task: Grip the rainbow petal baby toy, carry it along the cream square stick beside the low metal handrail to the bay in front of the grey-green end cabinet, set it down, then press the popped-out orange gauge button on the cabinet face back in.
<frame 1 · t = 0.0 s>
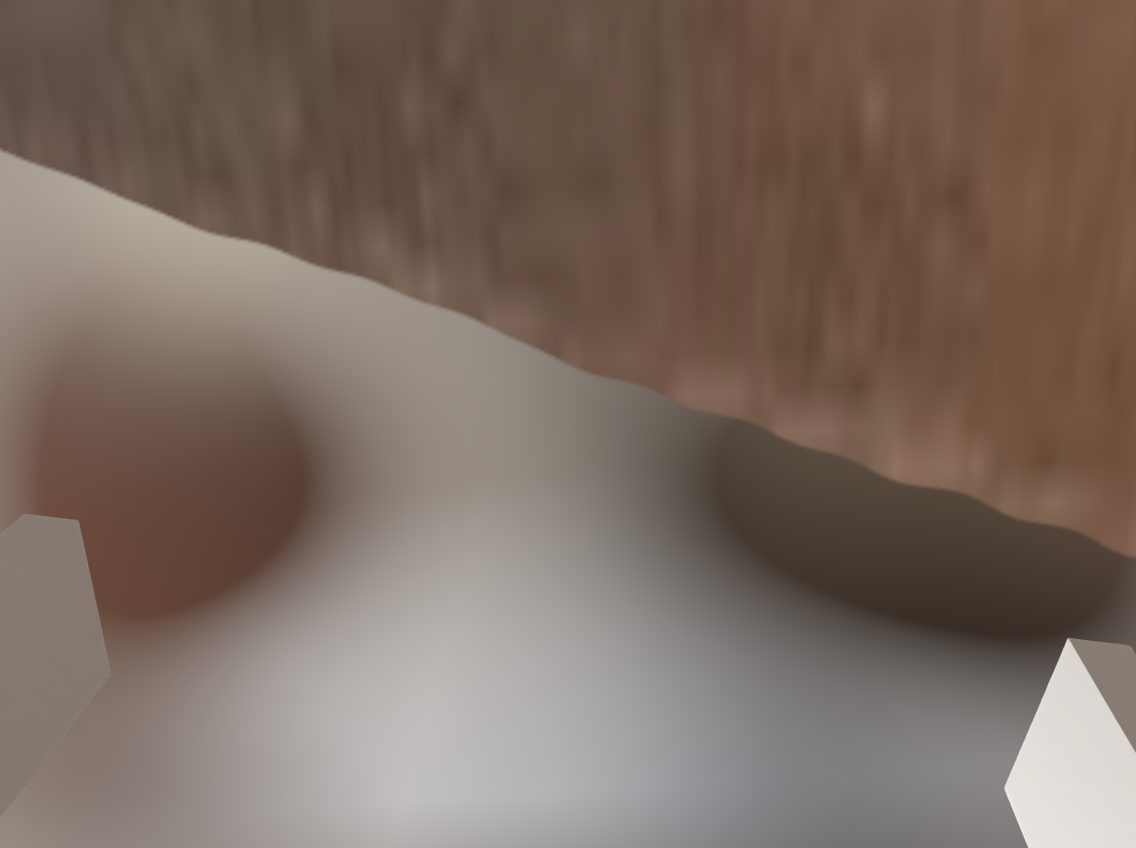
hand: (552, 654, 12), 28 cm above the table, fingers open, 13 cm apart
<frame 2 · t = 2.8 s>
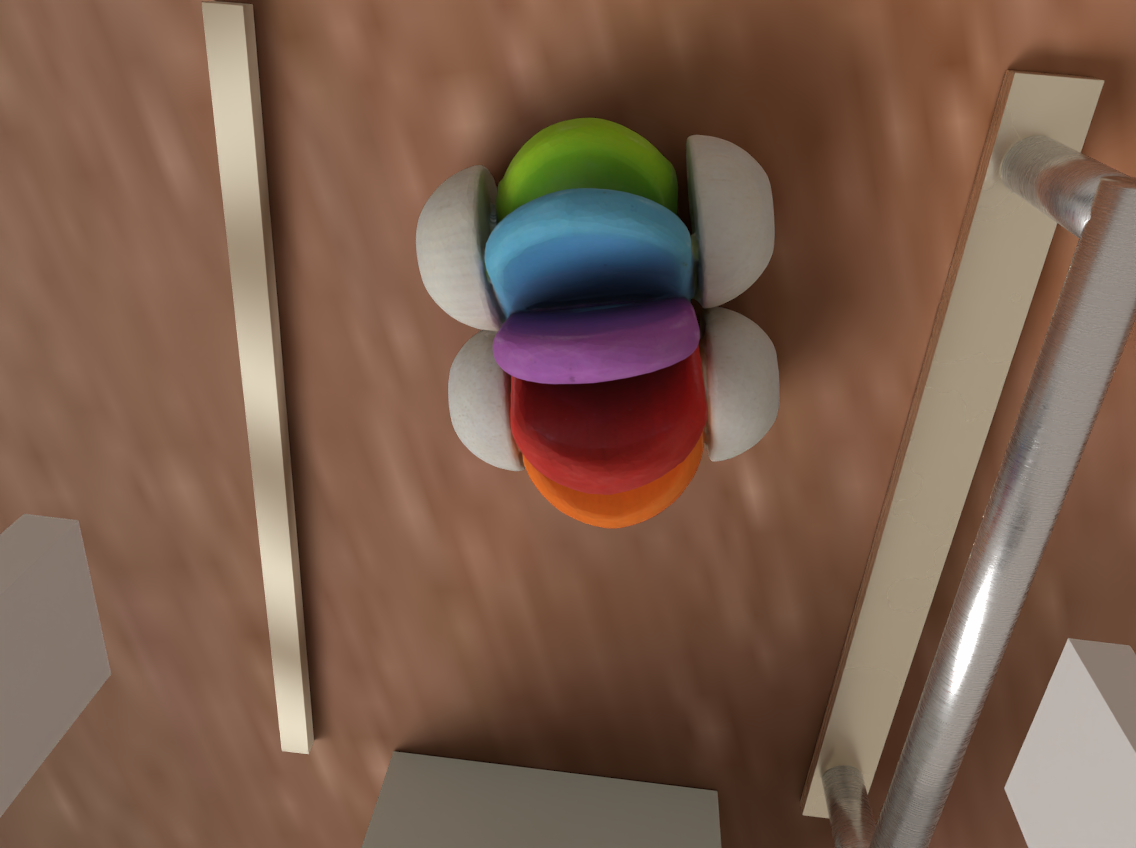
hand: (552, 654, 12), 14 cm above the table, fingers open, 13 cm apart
cabinet: (547, 843, 35), on the table
handrail: (914, 518, 27), on the table
cream square stick: (274, 449, 28), on the table
rainbow petal baby toy: (607, 286, 25), on the table
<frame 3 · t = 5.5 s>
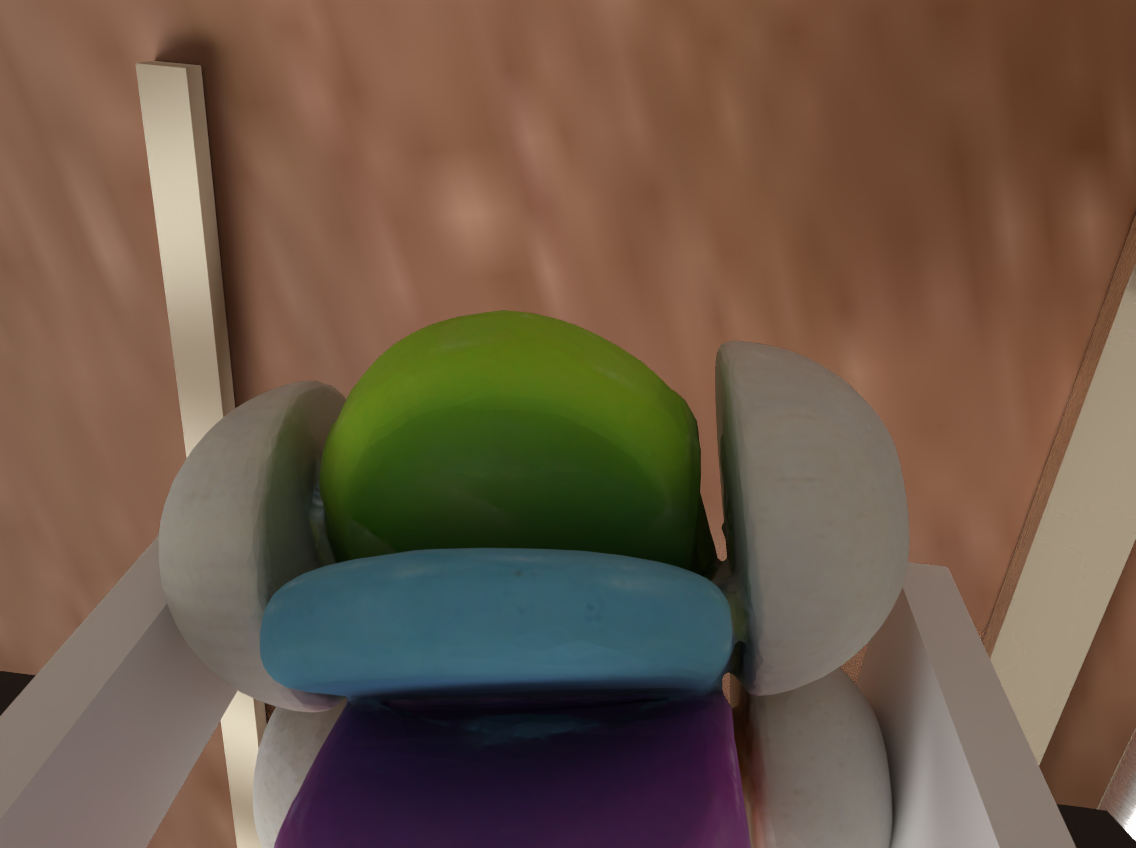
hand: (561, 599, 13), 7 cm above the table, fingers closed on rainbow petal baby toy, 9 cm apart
handrail: (1010, 688, 22), on the table
cream square stick: (234, 581, 23), on the table
rainbow petal baby toy: (565, 560, 14), point 7 cm above the table, touching gripper
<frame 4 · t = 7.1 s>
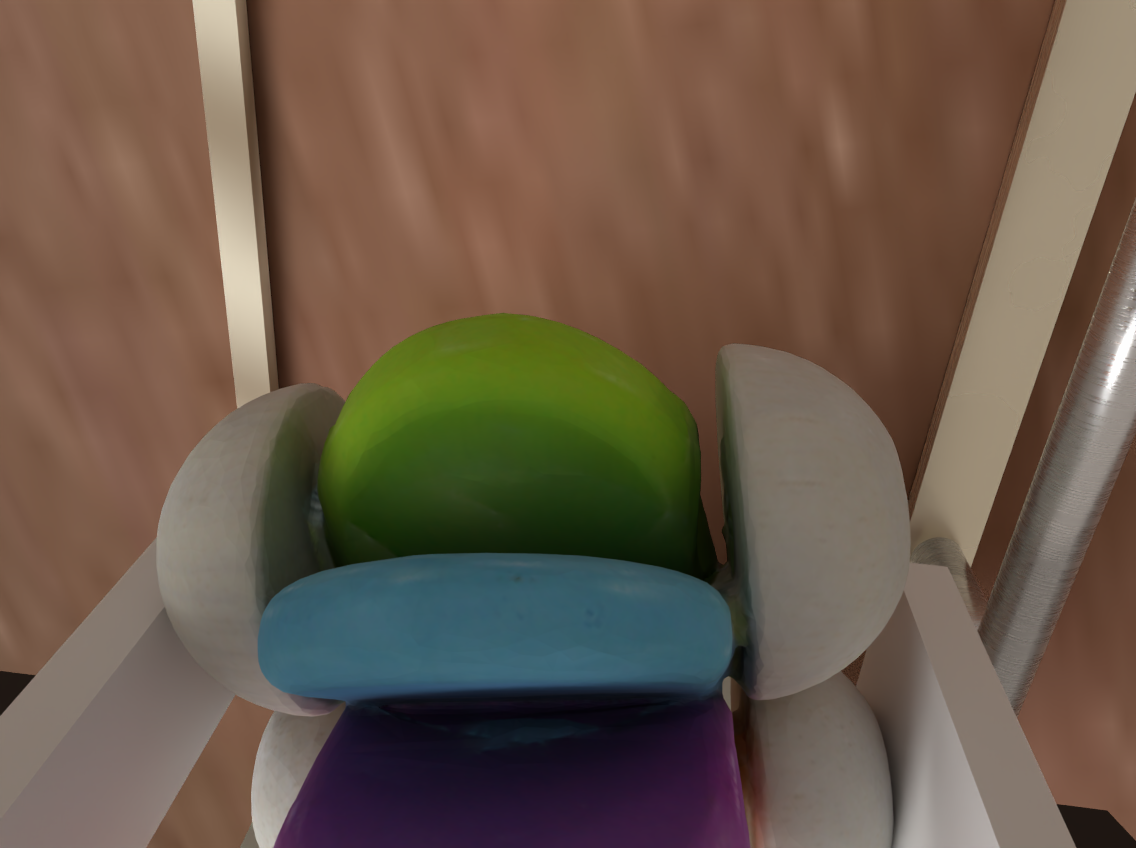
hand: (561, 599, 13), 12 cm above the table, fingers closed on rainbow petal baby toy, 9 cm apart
cabinet: (570, 661, 29), on the table
handrail: (1047, 178, 21), on the table
cream square stick: (234, 102, 22), on the table
rainbow petal baby toy: (565, 563, 14), point 11 cm above the table, touching gripper
when the fingers open (1 cm above the table, at t = 9.0 s): rainbow petal baby toy stays where it is, on the table.
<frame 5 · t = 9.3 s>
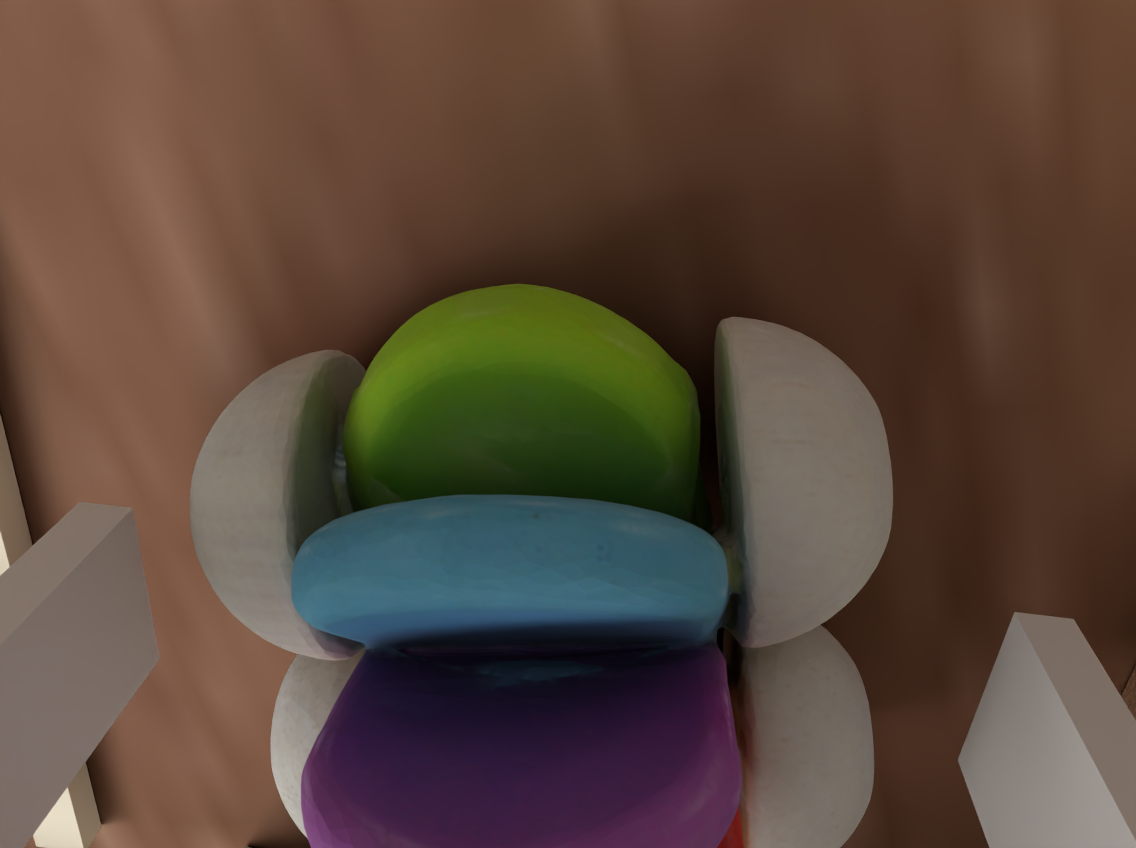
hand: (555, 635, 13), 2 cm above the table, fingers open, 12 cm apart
rainbow petal baby toy: (568, 528, 14), on the table
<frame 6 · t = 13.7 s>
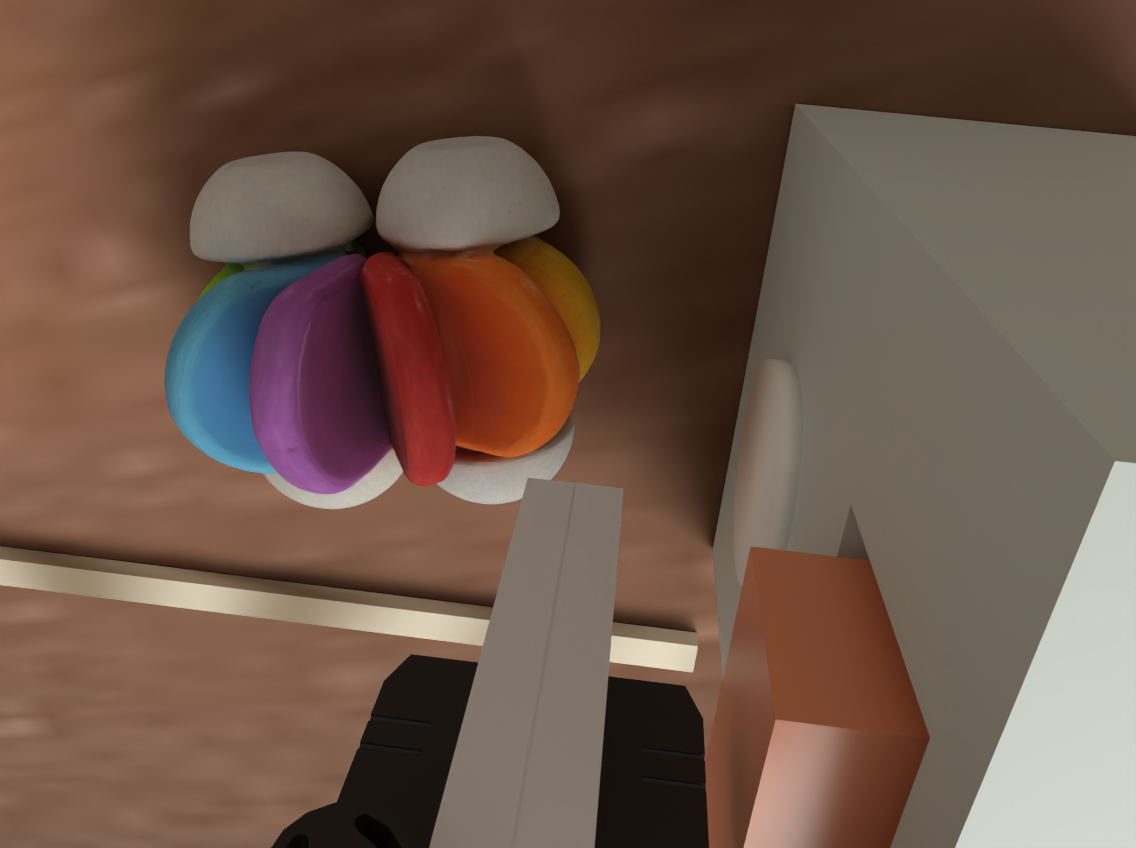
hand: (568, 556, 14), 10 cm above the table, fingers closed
cabinet: (910, 371, 23), on the table
cream square stick: (286, 594, 28), on the table
rainbow petal baby toy: (417, 301, 23), on the table
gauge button: (854, 763, 11), point 13 cm above the table, slide at 1.2 cm, touching gripper
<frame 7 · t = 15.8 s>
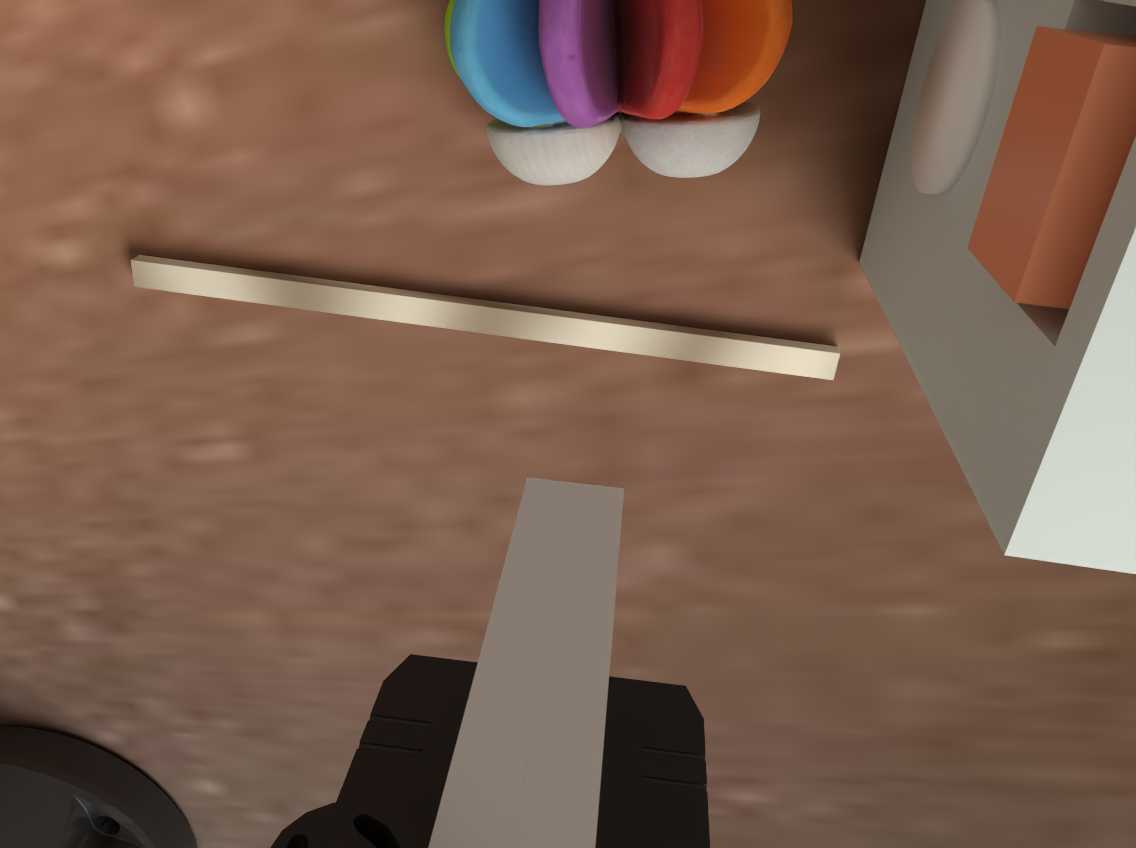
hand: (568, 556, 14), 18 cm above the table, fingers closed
cabinet: (1047, 83, 26), on the table
cream square stick: (479, 312, 32), on the table
rainbow petal baby toy: (621, 17, 27), on the table
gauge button: (1116, 171, 15), point 13 cm above the table, slide at 1.8 cm
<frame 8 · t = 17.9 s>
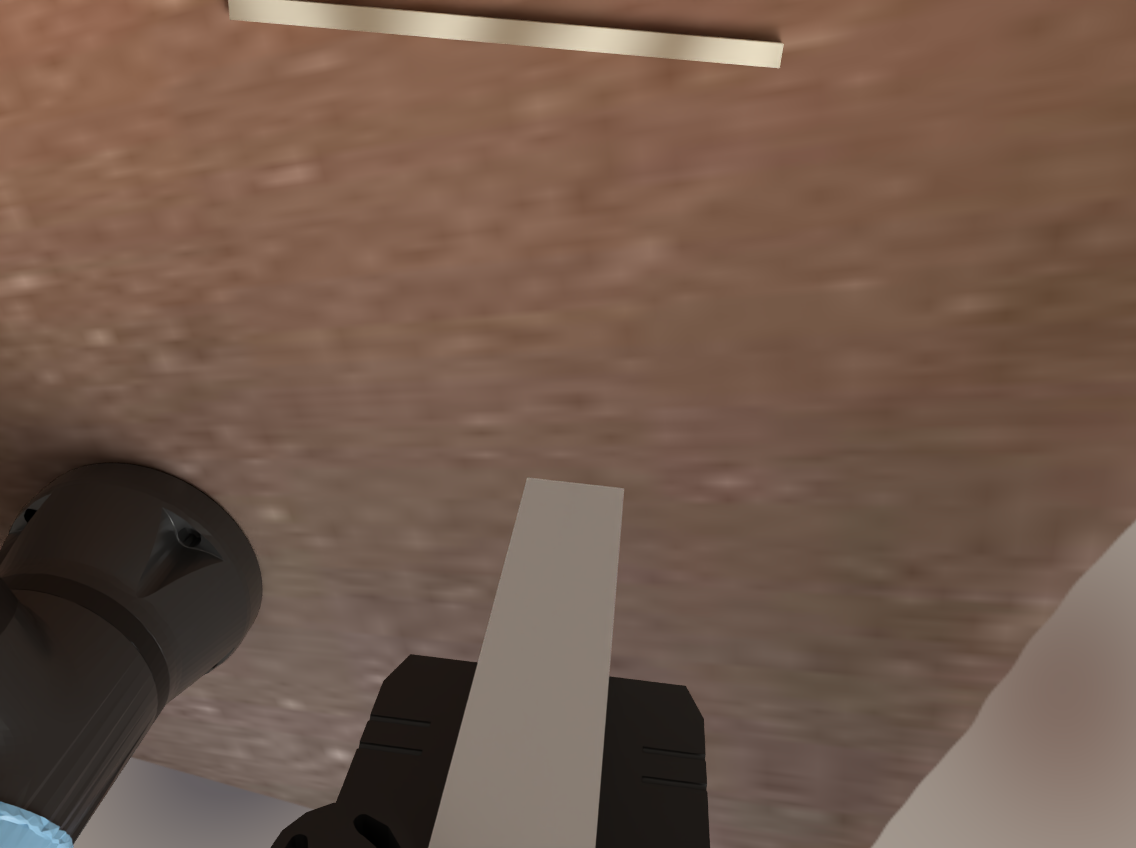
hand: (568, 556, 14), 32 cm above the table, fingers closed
cream square stick: (502, 30, 41), on the table
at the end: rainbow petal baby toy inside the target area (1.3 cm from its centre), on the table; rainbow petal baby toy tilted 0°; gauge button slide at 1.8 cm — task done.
